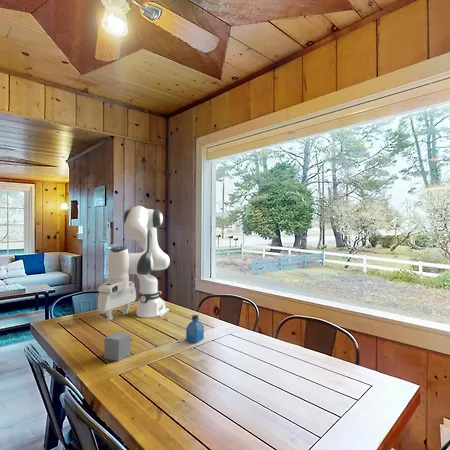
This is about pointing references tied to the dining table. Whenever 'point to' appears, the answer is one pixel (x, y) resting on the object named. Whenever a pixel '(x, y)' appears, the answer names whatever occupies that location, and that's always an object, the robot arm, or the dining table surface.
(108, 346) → the gray cuboid
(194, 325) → the perfume bottle
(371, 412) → the dining table surface
